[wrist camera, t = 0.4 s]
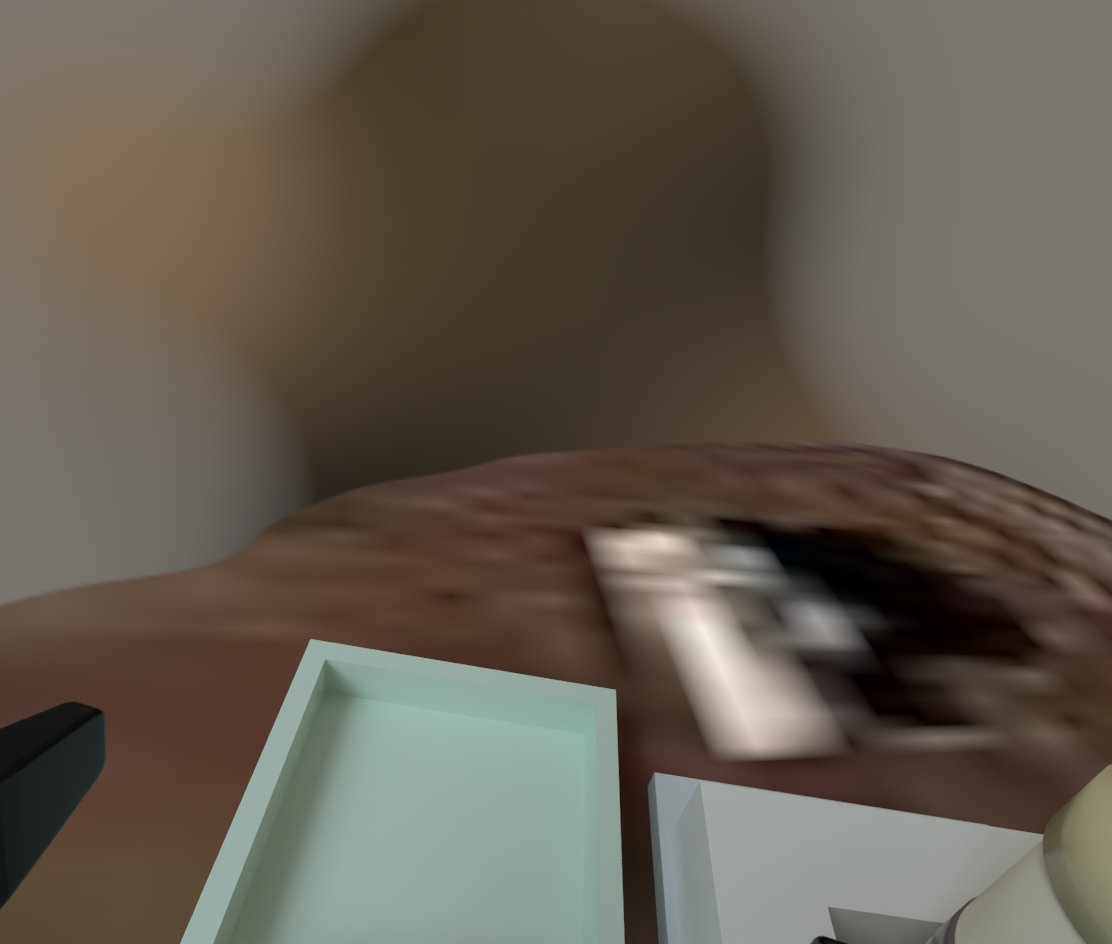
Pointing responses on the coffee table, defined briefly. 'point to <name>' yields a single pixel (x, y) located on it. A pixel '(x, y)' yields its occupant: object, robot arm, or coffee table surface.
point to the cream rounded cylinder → (1050, 883)
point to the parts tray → (424, 811)
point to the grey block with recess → (811, 866)
